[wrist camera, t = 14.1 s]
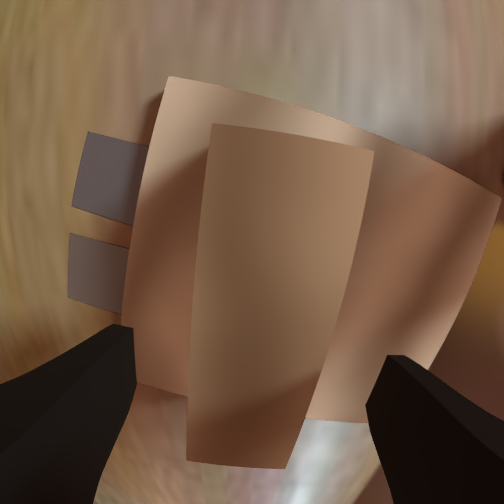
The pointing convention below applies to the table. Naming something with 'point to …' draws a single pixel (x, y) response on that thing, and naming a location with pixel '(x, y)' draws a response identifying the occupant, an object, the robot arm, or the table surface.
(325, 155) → the block
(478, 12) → the table surface
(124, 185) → the charcoal chip
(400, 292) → the birch board
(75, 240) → the charcoal chip
